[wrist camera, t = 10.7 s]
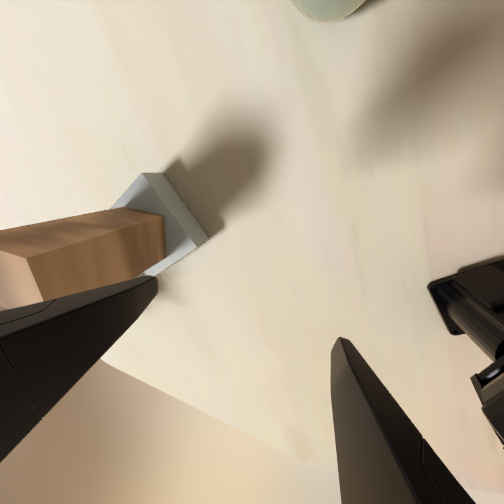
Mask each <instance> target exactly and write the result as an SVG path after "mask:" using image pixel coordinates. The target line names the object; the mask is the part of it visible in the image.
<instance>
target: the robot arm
mask: <svg viewBox="0 0 504 504" xmlns="http://www.w3.org/2000/svg"><path fill="white" fill-rule="evenodd" d="M434 287H436V288H435V289H433V288H434ZM427 289H428V291H429V293H430V295H431V297H432V300H433V302H434V304H435V306H436V308H437V310H438V312H439V314H440V316H441V318H442V320H443V322H444V324H445V326H446V328H447V330H448V331H449V332H450V333H451V334H452V335H461V334H467V335H468V337H469V338H470V339H471V340H472V341H473V342H474V343H475V344H476V345H477V346H478V347H479V348H480V349H481V350H482V351H483V352H484V353H485V354H486V355H487V356H488V357H489V358H490V359H491V360H492V361H493V363H492V364H490V365H489V366H488V367H487V368H485V369H484V370H483V371H481V372H480V373H479V374H474V375H473V376H472V377H470V379H471V381H472V383H473V385H474V388H475V390H476V392H477V394H478V397H479V399H480V401H481V403H482V406H483V407H482V411H483V413H484V415H485V417H486V418H487V420H488V421H489V423H490V425H491V426H492V428H493V430H494V431H495V433H496V435H497V436H498V438H499V439H500V441H501V443H502V444H503V445H504V260H502V261H499V262H496V263H493V264H490V265H487V266H483V267H480V268H477V269H474V270H471V271H467V272H464V273H461V274H458V275H455V276H452V277H448V278H445V279H442V280H439V281H436V282H433V283H430V284H429V285H428V286H427ZM157 293H158V280H157V278H156V277H154V276H151V275H147V276H143V277H139V278H135V279H131V280H127V281H123V282H119V283H115V284H111V285H107V286H103V287H99V288H95V289H91V290H87V291H83V292H79V293H75V294H71V295H67V296H63V297H59V298H58V299H57V298H55V299H51V300H47V301H43V302H38V303H34V304H30V305H26V306H21V307H16V308H12V309H7V310H3V311H0V462H1V461H2V460H3V459H4V458H5V457H6V456H7V455H8V454H9V453H10V452H11V451H12V450H13V449H14V448H15V447H16V446H17V445H18V444H19V443H20V442H21V440H22V439H23V438H24V437H25V436H26V435H27V434H28V433H29V432H30V431H31V430H32V429H33V428H34V427H35V426H36V425H37V424H38V423H39V422H40V421H41V420H42V417H44V416H45V415H46V414H47V413H48V412H49V411H50V410H51V409H52V408H53V407H54V406H55V405H56V404H57V403H58V401H60V399H61V398H62V397H63V396H64V395H65V394H66V393H67V392H68V391H69V390H70V389H71V388H72V387H73V386H74V385H75V384H76V383H77V382H78V381H79V380H80V379H81V378H82V376H83V375H84V374H85V373H86V372H87V371H88V370H89V369H90V368H91V367H92V366H93V365H94V364H95V363H96V362H97V361H98V360H99V359H100V358H101V357H102V356H103V355H104V353H105V352H106V351H107V350H108V349H109V348H110V347H111V346H112V345H113V344H114V343H115V342H116V341H117V340H118V339H119V338H120V337H121V336H122V335H123V334H124V333H125V331H126V330H127V329H128V328H129V327H130V326H131V325H132V324H133V323H134V322H135V321H136V320H137V319H138V317H139V316H140V315H141V314H142V313H143V311H144V310H145V309H146V307H147V306H148V305H149V304H150V302H151V301H152V300H153V299H154V297H155V296H156V295H157ZM453 330H454V331H453ZM331 401H332V411H333V421H334V431H335V442H336V452H337V462H338V472H339V482H340V492H341V502H342V504H476V503H475V502H474V501H473V500H472V498H471V497H470V496H469V495H468V493H467V492H466V491H465V490H464V488H463V487H462V486H461V485H460V484H459V482H458V481H457V480H456V479H455V477H454V476H453V475H452V474H451V472H450V471H449V470H448V468H447V467H446V466H445V465H444V463H443V462H442V461H441V459H440V458H439V457H438V456H437V454H436V453H435V452H434V450H433V449H432V448H431V446H430V445H429V444H428V442H427V441H426V440H425V439H424V438H422V435H421V433H420V432H419V431H418V429H417V428H416V427H415V426H414V424H413V423H412V422H411V420H410V419H409V418H408V416H407V415H406V414H405V412H404V411H403V410H402V408H401V407H400V406H399V404H398V403H397V402H396V401H395V399H394V398H393V397H392V395H391V394H390V393H389V391H388V390H387V389H386V387H385V386H384V385H383V383H382V382H381V381H380V379H379V378H378V377H377V375H376V374H375V373H374V372H373V370H372V369H371V368H370V366H369V365H368V364H367V362H366V361H365V360H364V358H363V357H362V356H361V354H360V353H359V352H358V350H357V349H356V348H355V347H354V345H353V344H352V343H351V341H350V340H348V339H346V338H342V337H339V338H338V339H337V340H336V342H335V344H334V346H333V348H332V351H331ZM503 449H504V447H503Z"/></svg>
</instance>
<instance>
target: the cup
mask: <svg viewBox="0 0 504 504" xmlns="http://www.w3.org/2000/svg"><path fill="white" fill-rule="evenodd" d="M289 1H290V2H291V3H292V5H293V6H294V7H295V9H296V10H297V11H299V12H300V13H301V14H302V15H303V16H305V17H306V18H308V19H310V20H312V21H316V22H321V23H329V22H334V21H338V20H341V19H343V18H345V17H346V16H348V15H350V14H351V13H353V12H354V11H355V10H356V9H357V8H358V7H359V6H361V5H362V4H363V3H364V2H365V1H366V0H289Z"/></svg>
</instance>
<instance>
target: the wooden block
mask: <svg viewBox="0 0 504 504" xmlns="http://www.w3.org/2000/svg"><path fill="white" fill-rule="evenodd" d="M165 258H167V256H166V239H165V222H164V215H159V214H155V213H151V212H146V211H142V210H137V209H133V208H128V207H119V208H114V209H109V210H104V211H99V212H94V213H88V214H83V215H78V216H73V217H68V218H63V219H57V220H52V221H47V222H42V223H37V224H31V225H26V226H21V227H16V228H11V229H6V230H0V306H2V307H5V308H7V309H12V308H16V307H21V306H26V305H30V304H34V303H38V302H43V301H47V300H51V299H55V298H57V299H58V298H59V297H63V296H67V295H71V294H75V293H79V292H83V291H87V290H91V289H95V288H99V287H103V286H107V285H111V284H115V283H119V282H123V281H127V280H131V279H133V278H134V277H136V276H138V275H139V274H141V273H142V272H144V271H146V270H147V269H149V268H151V267H152V266H154V265H155V264H157V263H159V262H160V261H162V260H164V259H165Z"/></svg>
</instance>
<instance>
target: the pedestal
mask: <svg viewBox="0 0 504 504" xmlns="http://www.w3.org/2000/svg"><path fill="white" fill-rule="evenodd" d="M119 207H128V208H133V209H137V210H142V211H146V212H151V213H155V214H159V215H164V222H165V239H166V256H167V258H165V259H164V260H162V261H160V262H159V263H157V264H155V265H154V266H152V267H151V268H149V269H147V270H146V271H144V273H145V275H146V276H147V275H151V276H156V275H157V274H159V273H160V272H162V271H163V270H165V269H166V268H167V267H169V266H170V265H172V264H173V263H175V262H176V261H178V260H179V259H181V258H182V257H184V256H185V255H187V254H188V253H190V252H191V251H193V250H194V249H196V248H197V247H199V246H200V245H201V244H203V243H204V242H206V241H207V240H209V239H210V238H209V237H208V235H207V234H206V233H205V231H204V230H203V228H202V227H201V226H200V224H199V223H198V222H197V220H196V219H195V217H194V216H193V215H192V213H191V212H190V210H189V209H188V208H187V206H186V205H185V203H184V202H183V201H182V199H181V198H180V197H179V195H178V194H177V192H176V191H175V190H174V188H173V187H172V185H171V184H170V183H169V181H168V180H167V178H166V177H165V176H164V174H163V173H141V174H140V175H139V177H138V178H137V179H136V180H135V181H134V182H133V183H132V184H131V186H130V187H129V188H128V189H127V190H126V191H125V192H124V193H123V195H122V196H121V197H120V198H119V199H118V200H117V201H116V202H115V204H114V205H113V206H112V207H111V208H110V209H114V208H119Z"/></svg>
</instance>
